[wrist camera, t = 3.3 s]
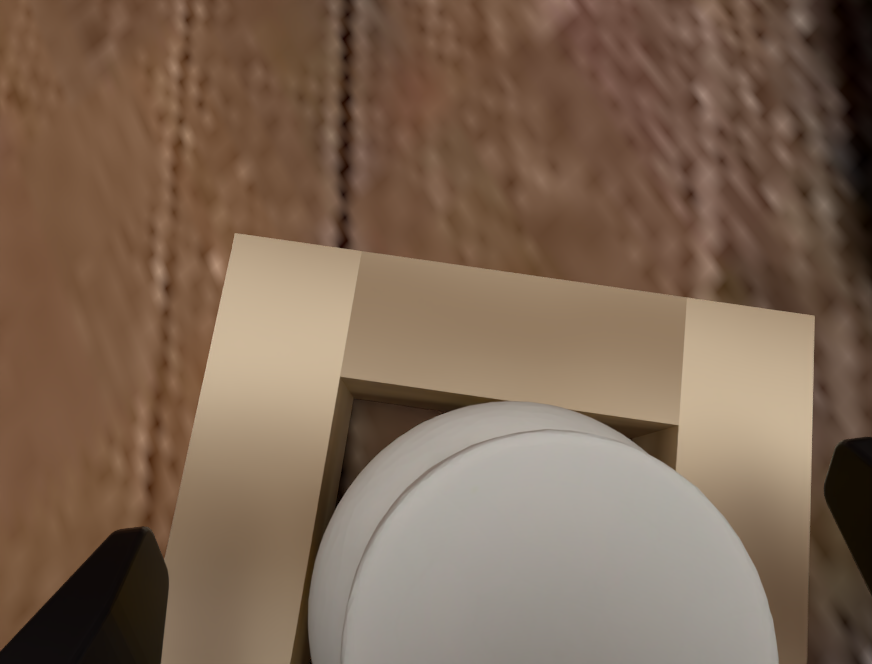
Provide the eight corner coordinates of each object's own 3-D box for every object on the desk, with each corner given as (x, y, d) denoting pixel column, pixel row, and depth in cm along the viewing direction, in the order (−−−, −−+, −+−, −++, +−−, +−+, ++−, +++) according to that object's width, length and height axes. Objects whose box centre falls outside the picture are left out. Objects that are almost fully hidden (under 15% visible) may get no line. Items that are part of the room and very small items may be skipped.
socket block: (721, 902, 14) (798, 1004, 11) (156, 818, 14) (90, 899, 12) (746, 347, 17) (814, 316, 14) (266, 278, 17) (234, 233, 14)
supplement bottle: (430, 750, 15) (450, 1170, 6) (306, 519, 16) (148, 546, 7) (645, 609, 16) (984, 772, 6) (514, 396, 17) (639, 263, 7)
